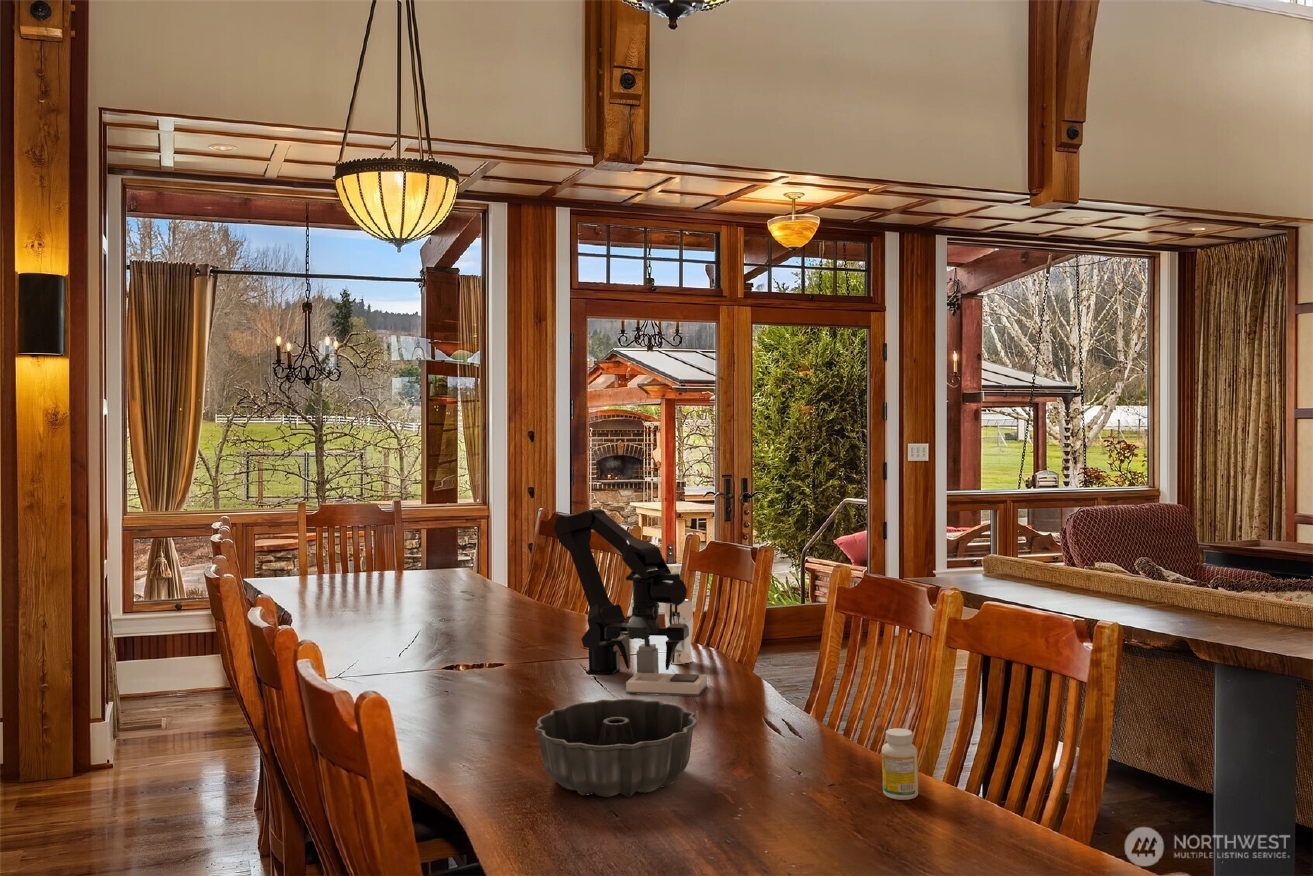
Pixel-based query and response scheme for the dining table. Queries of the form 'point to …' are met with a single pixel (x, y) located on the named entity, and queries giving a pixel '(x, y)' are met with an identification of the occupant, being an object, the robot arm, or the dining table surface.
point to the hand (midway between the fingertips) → (647, 669)
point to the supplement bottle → (899, 765)
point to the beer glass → (681, 616)
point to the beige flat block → (667, 684)
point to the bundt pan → (616, 745)
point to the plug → (647, 658)
